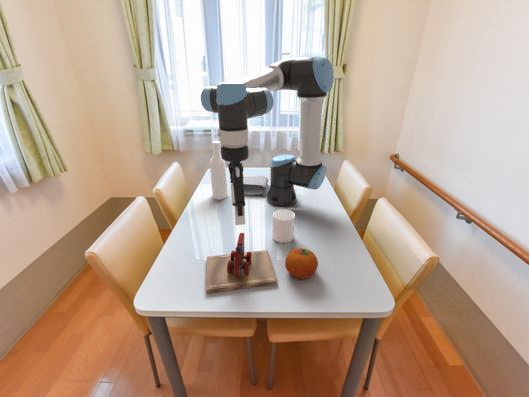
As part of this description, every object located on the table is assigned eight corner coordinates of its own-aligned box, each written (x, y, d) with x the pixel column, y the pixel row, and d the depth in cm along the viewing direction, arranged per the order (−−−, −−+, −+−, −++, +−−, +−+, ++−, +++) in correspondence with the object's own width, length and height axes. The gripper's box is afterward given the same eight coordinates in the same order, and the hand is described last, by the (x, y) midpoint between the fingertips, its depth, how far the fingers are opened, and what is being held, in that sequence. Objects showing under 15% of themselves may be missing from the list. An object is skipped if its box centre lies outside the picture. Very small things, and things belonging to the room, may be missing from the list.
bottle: (230, 198, 140) (227, 142, 126) (216, 202, 136) (211, 144, 122) (223, 193, 145) (219, 138, 132) (210, 196, 142) (204, 141, 128)
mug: (292, 227, 114) (293, 205, 109) (294, 244, 103) (295, 220, 99) (272, 227, 114) (273, 205, 110) (272, 243, 104) (272, 220, 99)
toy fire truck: (225, 279, 84) (223, 253, 79) (233, 255, 95) (231, 230, 90) (247, 281, 83) (246, 254, 78) (252, 256, 94) (252, 231, 90)
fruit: (294, 287, 83) (295, 267, 79) (279, 267, 91) (280, 248, 88) (323, 278, 87) (325, 258, 83) (306, 259, 95) (307, 240, 92)
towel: (266, 198, 140) (266, 184, 137) (232, 196, 142) (231, 183, 139) (268, 187, 154) (268, 174, 151) (237, 185, 156) (237, 173, 152)
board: (267, 253, 98) (267, 249, 97) (277, 284, 84) (277, 280, 83) (207, 260, 95) (207, 256, 94) (206, 293, 80) (206, 289, 80)
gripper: (218, 134, 82) (223, 196, 92) (222, 159, 60) (228, 236, 70) (242, 133, 83) (245, 194, 93) (255, 157, 61) (256, 233, 71)
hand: (238, 212), depth 81 cm, fingers open, 13 cm apart
